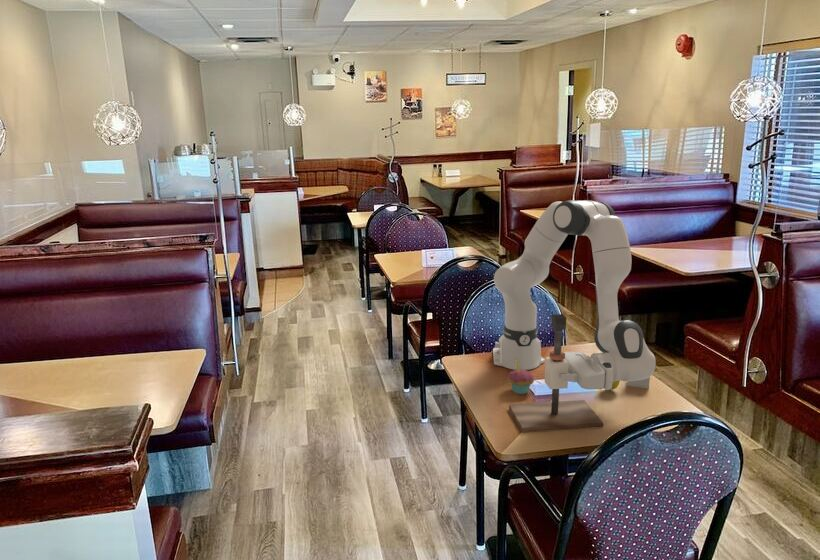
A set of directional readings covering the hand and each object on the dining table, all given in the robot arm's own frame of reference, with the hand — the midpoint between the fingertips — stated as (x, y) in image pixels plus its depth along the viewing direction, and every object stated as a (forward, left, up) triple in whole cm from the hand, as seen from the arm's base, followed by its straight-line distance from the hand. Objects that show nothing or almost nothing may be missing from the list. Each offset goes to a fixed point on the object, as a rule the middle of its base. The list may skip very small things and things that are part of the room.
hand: (554, 370), depth 186 cm
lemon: (-16, +25, -15) cm, 33 cm away
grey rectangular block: (-19, +36, -16) cm, 43 cm away
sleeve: (0, +1, -5) cm, 5 cm away
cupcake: (-20, -4, -15) cm, 26 cm away
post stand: (0, +1, -15) cm, 15 cm away
